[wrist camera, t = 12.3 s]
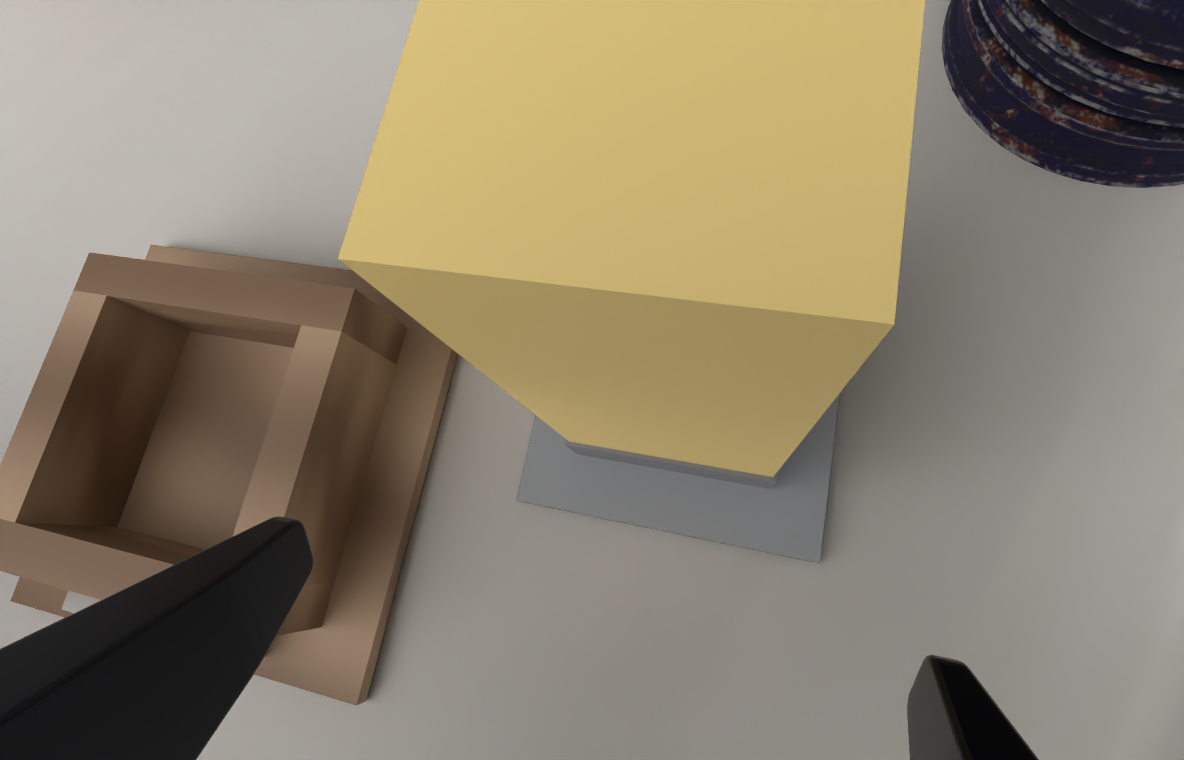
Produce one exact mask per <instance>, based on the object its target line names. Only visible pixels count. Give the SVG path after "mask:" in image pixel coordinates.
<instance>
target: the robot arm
mask: <svg viewBox="0 0 1184 760" xmlns="http://www.w3.org/2000/svg"><path fill="white" fill-rule="evenodd" d="M313 563H314V558H313V554H312V550H311V547H310V543H309V540H308V537H307V533H306V530H305V527H304V525H303V523H302V522H301V521H299V520H295V519H291V518H286V517H280V516H277V517H273V518H270V519H268V520H266V521H264V522H262V523H260V524H258V525H255V526H253V527H251V528H249V529H247V530H245V531H243V532H241V533H239V534H237V535H235V536H233V537H231V538H229V539H227V540H224V541H222V542H220V543H218V544H216V545H214V546H212V547H210V548H208V549H206V550H204V551H202V552H200V553H198V554H196V555H194V556H191V557H189V558H187V559H185V560H183V561H181V562H179V563H177V564H175V565H173V566H171V567H169V568H167V569H165V570H163V571H160V572H158V573H156V574H154V575H152V576H150V577H148V578H146V579H144V580H142V581H140V582H138V583H136V584H134V585H132V586H129V587H127V588H125V589H123V590H121V591H119V592H117V593H115V594H113V595H111V596H109V597H107V598H105V599H103V600H101V601H98V602H96V603H94V604H92V605H90V606H88V607H86V608H84V609H82V610H80V611H78V612H76V613H74V614H72V615H70V616H67V617H65V618H63V619H61V620H59V621H57V622H55V623H53V624H51V625H49V626H47V627H45V628H43V629H41V630H39V631H36V632H34V633H32V634H30V635H28V636H26V637H24V638H22V639H20V640H18V641H16V642H14V643H12V644H10V645H7V646H5V647H3V648H2V649H0V760H196V759H197V758H198V756H199V755H200V753H201V752H202V750H203V749H204V747H205V746H206V744H207V743H208V741H209V740H210V738H211V737H212V735H213V734H214V732H215V731H216V729H217V728H218V726H219V725H220V724H221V722H222V721H223V719H224V718H225V716H226V715H227V713H228V712H229V710H230V709H231V707H232V706H233V704H234V703H235V701H236V700H237V698H238V697H239V695H240V694H241V692H242V691H243V689H244V688H245V687H246V685H247V684H248V682H249V681H250V679H251V678H252V676H253V675H254V673H255V671H256V670H257V668H258V667H259V665H260V664H261V662H262V660H263V659H264V657H265V655H266V653H267V652H268V650H269V648H270V647H271V645H272V643H273V641H274V639H275V637H276V636H277V634H278V632H279V630H280V628H281V627H282V625H283V623H284V621H285V619H286V617H287V616H288V614H289V612H290V610H291V608H292V607H293V605H294V603H295V601H296V599H297V597H298V596H299V594H300V592H301V590H302V588H303V587H304V585H305V583H306V581H307V579H308V577H309V576H310V573H311V571H312V568H313ZM907 716H908V733H909V750H910V760H1039V759H1038V758H1037V757H1036V755H1035V754H1034V753H1033V751H1032V750H1031V749H1030V747H1029V746H1028V745H1027V743H1026V742H1025V741H1024V740H1023V738H1022V737H1021V736H1020V734H1019V733H1018V732H1017V730H1016V729H1015V728H1014V726H1013V725H1012V724H1011V723H1010V721H1009V720H1008V719H1007V717H1006V716H1005V715H1004V713H1003V712H1002V711H1001V709H1000V708H999V707H998V705H997V704H996V703H995V702H994V700H993V699H992V698H991V696H990V695H989V694H988V692H987V691H986V690H985V688H984V687H983V686H982V684H981V683H980V682H979V681H978V679H977V678H976V677H975V675H974V674H973V673H972V671H971V670H970V669H969V668H968V667H967V666H966V665H965V664H964V663H962V662H961V661H958V660H954V659H949V658H945V657H940V656H935V655H929V656H927V657H926V658H925V659H924V661H923V663H922V665H921V667H920V670H919V672H918V674H917V677H916V679H915V681H914V684H913V686H912V688H911V691H910V693H909V697H908V704H907Z"/></svg>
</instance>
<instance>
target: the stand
mask: <svg viewBox="0 0 1184 760" xmlns="http://www.w3.org/2000/svg"><path fill="white" fill-rule="evenodd" d="M839 396H840V393H839V395H838V396H837V397H836V398H835V400H834V401H833V402H832V404H831V405H830V406H829V407H828V409H827V410H826V411H825V412H824V414H823V415H822V416H821V417H820V419H819V420H818V421H817V422H816V424H815V425H814V426H813V427H812V429H811V430H810V431H809V432H808V434H807V435H806V436H805V438H804V439H803V440H802V441H801V443H800V444H799V445H798V446H797V448H796V449H795V450H794V451H793V453H792V454H791V455H790V456H789V458H788V459H787V460H786V461H785V463H784V464H783V465H782V466H781V468H780V469H779V470H778V477H777V483H776V484H775V485H774V486H773V487H772V488H771V489H769V488H763V487H758V486H752V485H747V484H741V483H735V482H730V481H724V480H719V479H713V478H708V477H702V476H696V475H691V474H685V473H680V472H674V471H668V470H663V469H657V468H652V467H646V466H641V465H635V464H629V463H624V462H618V461H613V460H607V459H601V458H596V457H590V456H585V455H579V454H576V453H575V452H574V451H572V450H571V449H570V448H568V447H567V446H566V445H564V444H565V438H564V437H563V436H561V435H560V434H559V433H558V432H556V431H555V430H554V429H553V428H551V427H550V426H549V425H548V424H546V423H545V422H544V421H543V420H541V419H540V418H539V417H537V416H536V417H535V421H534V426H533V430H532V434H531V439H530V443H529V447H528V452H527V456H526V460H525V465H524V469H523V474H522V478H521V482H520V487H519V491H518V495H517V501H521V502H526V503H530V504H535V505H540V506H545V507H550V508H555V509H559V510H564V511H569V512H574V513H579V514H584V515H589V516H593V517H598V518H603V519H608V520H613V521H618V522H622V523H627V524H632V525H637V526H642V527H647V528H651V529H656V530H661V531H666V532H671V533H676V534H681V535H685V536H690V537H695V538H700V539H705V540H710V541H714V542H719V543H724V544H729V545H734V546H739V547H744V548H748V549H753V550H758V551H763V552H768V553H773V554H777V555H782V556H787V557H792V558H797V559H802V560H806V561H811V562H816V563H820V556H821V548H822V539H823V531H824V522H825V514H826V505H827V497H828V489H829V480H830V472H831V463H832V455H833V446H834V438H835V430H836V421H837V413H838V404H839Z"/></svg>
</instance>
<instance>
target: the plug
mask: <svg viewBox="0 0 1184 760" xmlns="http://www.w3.org/2000/svg"><path fill="white" fill-rule="evenodd" d="M924 7H925V0H419V2H418V5H417V8H416V12H415V15H414V18H413V21H412V24H411V27H410V31H409V34H408V37H407V40H406V43H405V47H404V50H403V53H402V56H401V59H400V62H399V66H398V69H397V72H396V75H395V78H394V82H393V85H392V88H391V91H390V94H389V97H388V101H387V104H386V107H385V110H384V113H383V116H382V120H381V123H380V126H379V129H378V132H377V136H376V139H375V142H374V145H373V148H372V151H371V155H370V158H369V161H368V164H367V167H366V171H365V174H364V177H363V180H362V183H361V186H360V190H359V193H358V196H357V199H356V202H355V206H354V209H353V212H352V215H351V218H350V221H349V225H348V228H347V231H346V234H345V237H344V241H343V244H342V247H341V250H340V253H339V256H338V259H339V260H340V261H341V262H343V263H344V264H345V265H346V266H348V267H349V268H350V269H352V270H353V271H354V272H355V273H357V274H358V275H359V276H360V277H362V278H363V279H364V280H365V281H367V282H368V283H369V284H370V285H372V286H373V287H374V288H376V289H377V290H378V291H379V292H381V293H382V294H383V295H384V296H386V297H387V298H388V299H389V300H391V301H392V302H393V303H395V304H396V305H397V306H398V307H400V308H401V309H402V310H403V311H405V312H406V313H407V314H408V315H410V316H411V317H412V318H413V319H415V320H416V321H417V322H419V323H420V324H421V325H422V326H424V327H425V328H426V329H427V330H429V331H430V332H431V333H432V334H434V335H435V336H436V337H438V338H439V339H440V340H441V341H443V342H444V343H445V344H446V345H448V346H449V347H450V348H451V349H453V350H454V351H455V352H457V353H458V354H459V355H460V356H462V357H463V358H464V359H465V360H467V361H468V362H469V363H470V364H472V365H473V366H474V367H475V368H477V369H478V370H479V371H481V372H482V373H483V374H484V375H486V376H487V377H488V378H489V379H491V380H492V381H493V382H494V383H496V384H497V385H498V386H500V387H501V388H502V389H503V390H505V391H506V392H507V393H508V394H510V395H511V396H512V397H513V398H515V399H516V400H517V401H518V402H520V403H521V404H522V405H524V406H525V407H526V408H527V409H529V410H530V411H531V412H532V413H534V414H535V415H536V416H537V417H539V418H540V419H541V420H543V421H544V422H545V423H546V424H548V425H549V426H550V427H551V428H553V429H554V430H555V431H556V432H558V433H559V434H560V435H561V436H563V437H564V438H565V444H564V445H566V446H567V447H568V448H570V449H571V450H572V451H574V452H575V453H576V454H579V455H585V456H590V457H596V458H601V459H607V460H613V461H618V462H624V463H629V464H635V465H641V466H646V467H652V468H657V469H663V470H668V471H674V472H680V473H685V474H691V475H696V476H702V477H708V478H713V479H719V480H724V481H730V482H735V483H741V484H747V485H752V486H758V487H763V488H769V489H771V488H772V487H773V486H774V485H775V484H776V483H777V477H778V470H779V469H780V468H781V466H782V465H783V464H784V463H785V461H786V460H787V459H788V458H789V456H790V455H791V454H792V453H793V451H794V450H795V449H796V448H797V446H798V445H799V444H800V443H801V441H802V440H803V439H804V438H805V436H806V435H807V434H808V432H809V431H810V430H811V429H812V427H813V426H814V425H815V424H816V422H817V421H818V420H819V419H820V417H821V416H822V415H823V414H824V412H825V411H826V410H827V409H828V407H829V406H830V405H831V404H832V402H833V401H834V400H835V398H836V397H837V396H838V395H839V393H840V392H841V391H842V390H843V388H844V387H845V386H846V385H847V383H848V382H849V381H850V380H851V378H852V377H853V376H854V375H855V373H856V372H857V371H858V370H859V368H860V367H861V366H862V364H863V363H864V362H865V361H866V359H867V358H868V357H869V356H870V354H871V353H872V352H873V351H874V349H875V348H876V347H877V346H878V344H879V343H880V342H881V341H882V339H883V338H884V337H885V336H886V334H887V333H888V332H889V330H890V329H891V328H892V327H893V325H894V323H895V313H896V302H897V292H898V281H899V271H900V260H901V250H902V239H903V228H904V218H905V207H906V197H907V186H908V176H909V165H910V155H911V144H912V134H913V123H914V113H915V102H916V92H917V81H918V70H919V60H920V49H921V39H922V28H923V18H924Z"/></svg>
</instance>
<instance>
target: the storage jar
mask: <svg viewBox="0 0 1184 760" xmlns="http://www.w3.org/2000/svg"><path fill="white" fill-rule="evenodd" d="M942 52H943V59H944V65H945V70H946V73H947V76H948V79H949V81H950V84H951V87H952V90H953V91H954V93H955V95H956V96H957V98H958V100H959V101H960V103H961V105H962V106H963V108H964V110H965V111H966V112H967V113H968V114H969V116H970V117H971V118H972V119H973V120H974V121H975V123H976V124H977V125H978V126H979V127H980V128H981V129H982V130H983V131H984V132H985V133H987V134H988V135H989V136H990V137H991V138H993V139H994V140H995V141H996V142H997V143H998V144H1000V145H1001V146H1003V147H1004V148H1006V149H1007V150H1009V151H1011V152H1012V153H1014V154H1016V155H1017V156H1019V157H1020V158H1022V159H1024V160H1026V161H1028V162H1030V163H1032V164H1035V165H1037V166H1039V167H1041V168H1044V169H1046V170H1048V171H1050V172H1053V173H1057V174H1060V175H1063V176H1067V177H1070V178H1073V179H1077V180H1080V181H1085V182H1091V183H1097V184H1103V185H1109V186H1122V187H1142V188H1145V187H1158V186H1172V185H1180V184H1184V0H951V2H950V5H949V7H948V11H947V14H946V18H945V22H944V26H943V37H942Z"/></svg>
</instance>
